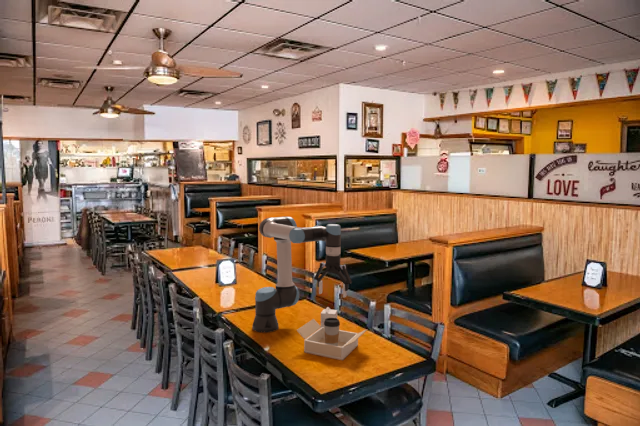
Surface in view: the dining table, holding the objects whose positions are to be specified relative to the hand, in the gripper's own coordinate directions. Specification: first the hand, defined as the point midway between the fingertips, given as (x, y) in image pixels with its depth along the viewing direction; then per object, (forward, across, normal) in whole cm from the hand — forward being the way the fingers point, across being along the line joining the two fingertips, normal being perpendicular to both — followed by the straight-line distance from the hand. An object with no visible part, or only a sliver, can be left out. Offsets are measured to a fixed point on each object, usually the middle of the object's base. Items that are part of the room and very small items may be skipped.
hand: (332, 295), depth 234 cm
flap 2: (+20, +13, 0) cm, 24 cm away
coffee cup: (+28, 0, 0) cm, 28 cm away
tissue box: (+29, -12, +23) cm, 39 cm away
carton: (+29, 0, 0) cm, 29 cm away
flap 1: (+20, -13, 0) cm, 24 cm away
